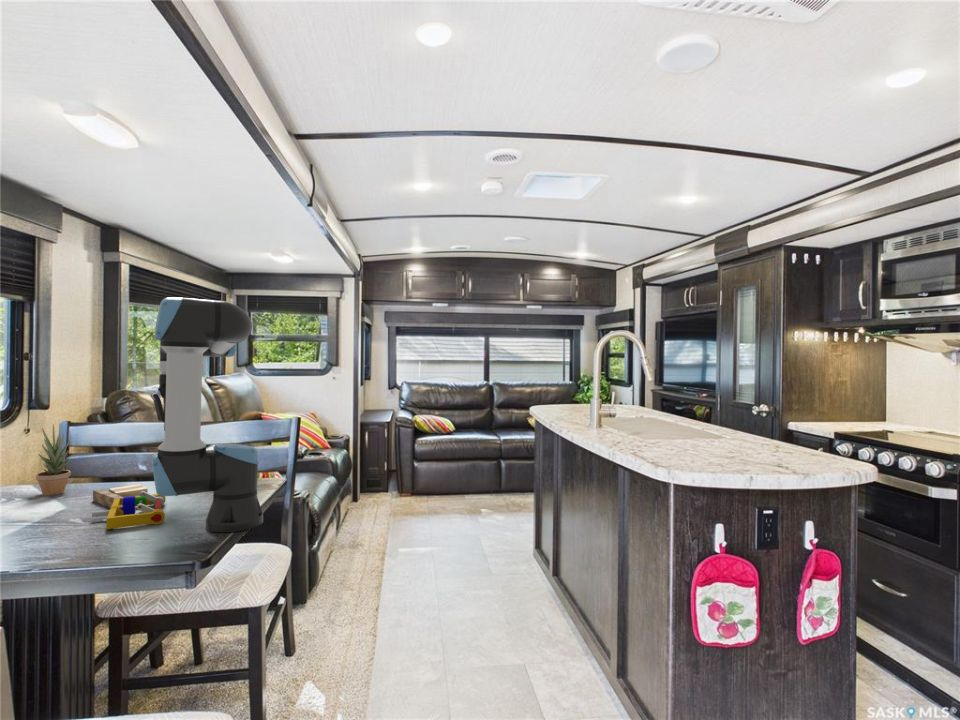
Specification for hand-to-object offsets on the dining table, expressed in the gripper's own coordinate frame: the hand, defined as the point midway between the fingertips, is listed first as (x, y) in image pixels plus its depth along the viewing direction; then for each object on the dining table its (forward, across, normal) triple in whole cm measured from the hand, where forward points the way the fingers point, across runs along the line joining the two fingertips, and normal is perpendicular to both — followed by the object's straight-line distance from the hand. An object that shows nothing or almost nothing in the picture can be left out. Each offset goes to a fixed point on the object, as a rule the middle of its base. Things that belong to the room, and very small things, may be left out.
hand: (170, 441), depth 182 cm
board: (+19, +17, -5) cm, 26 cm away
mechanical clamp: (+20, +18, +14) cm, 30 cm away
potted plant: (+19, +22, -36) cm, 46 cm away
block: (+20, +10, -7) cm, 23 cm away
